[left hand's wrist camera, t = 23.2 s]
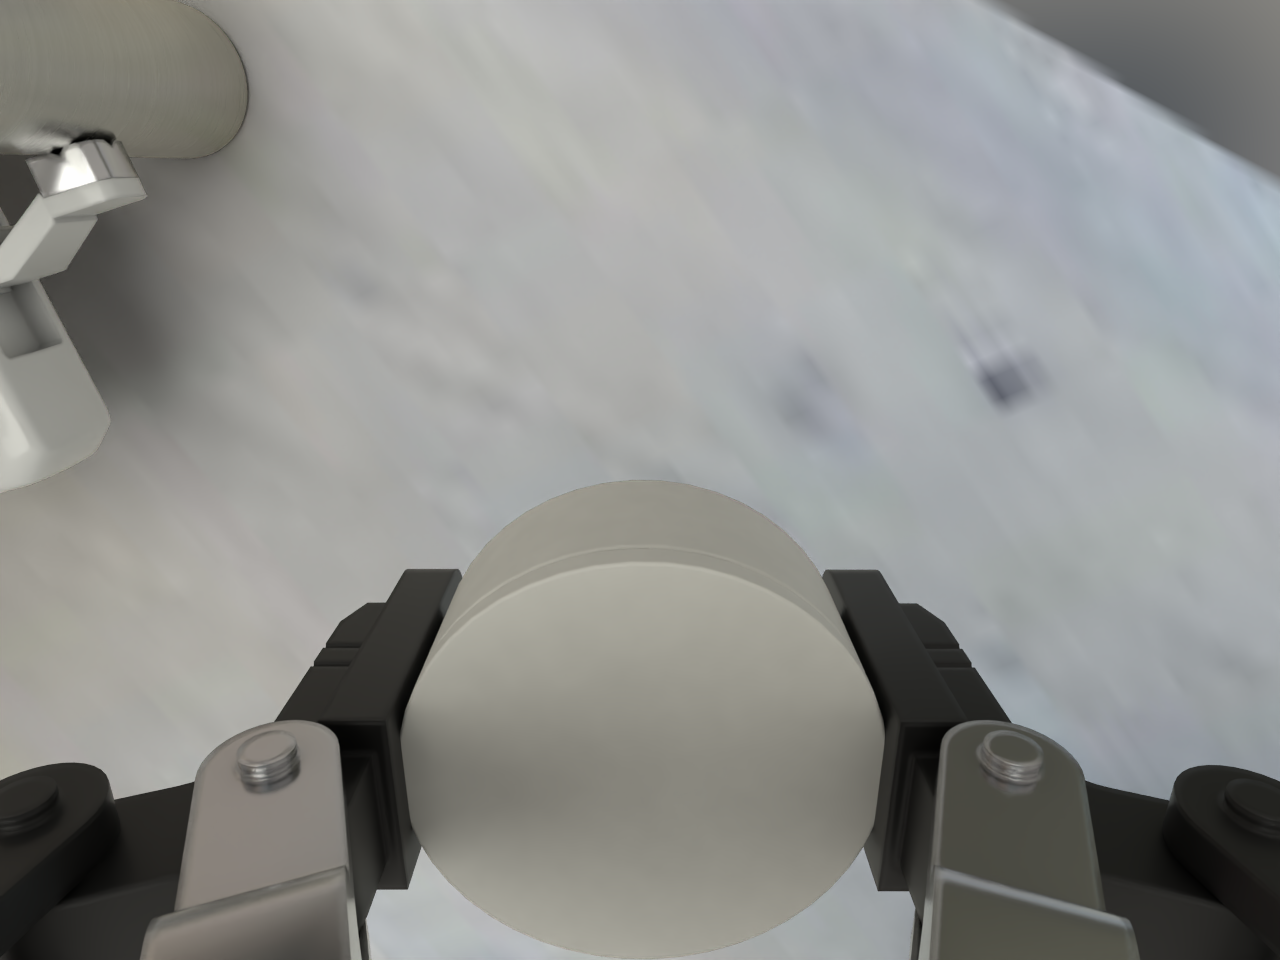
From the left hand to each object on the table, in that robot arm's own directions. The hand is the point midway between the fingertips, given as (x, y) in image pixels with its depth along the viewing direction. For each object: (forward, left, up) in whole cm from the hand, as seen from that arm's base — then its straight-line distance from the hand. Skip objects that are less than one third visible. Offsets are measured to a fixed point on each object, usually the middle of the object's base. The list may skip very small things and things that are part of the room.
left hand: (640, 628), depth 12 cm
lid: (0, 0, +3) cm, 3 cm away
